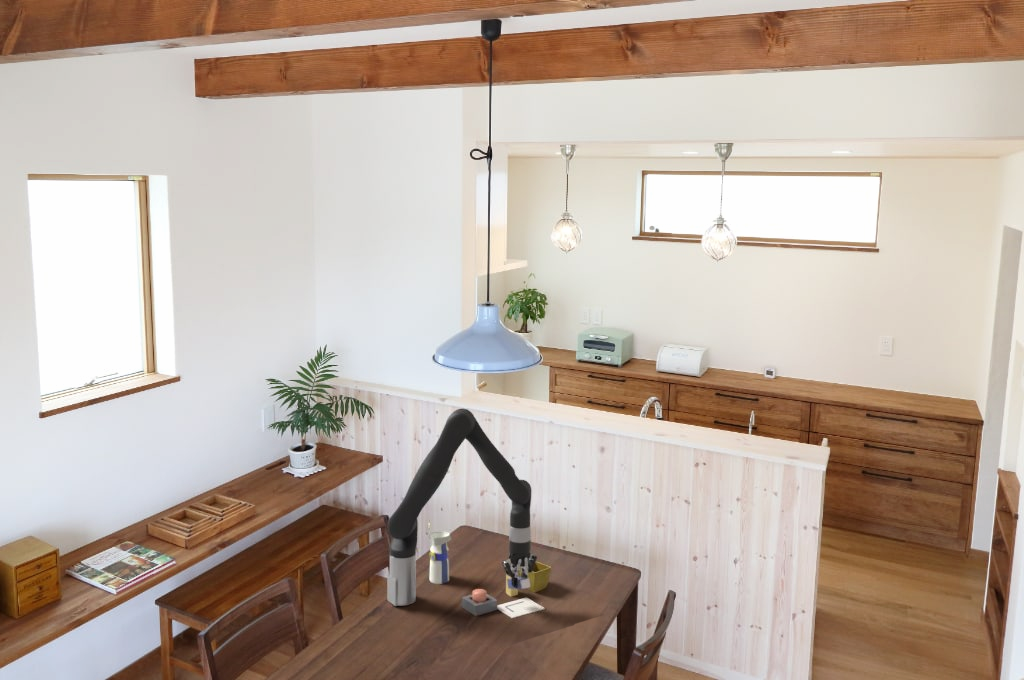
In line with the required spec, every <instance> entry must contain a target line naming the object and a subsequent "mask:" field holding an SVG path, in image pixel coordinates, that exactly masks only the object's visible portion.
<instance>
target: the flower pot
mask: <svg viewBox="0 0 1024 680" xmlns="http://www.w3.org/2000/svg"><path fill="white" fill-rule="evenodd" d="M530 566H531V565H530ZM551 571H552V566H549V565H547V564H544V563H542V562H539V561H536V562H535V565H534V568H533V571H532V572H529V573H528V575H527V579H529V581H530V587H528V588H525V589H526V590H528V591H530V592H533V593H537V592H539V591H542V590H544V589H546V588H547V586H548V584H549V581H550V578H551V577H550V576H551ZM518 572H519V577H520V578H521V574H522V571H521V567H520V569H519V571H518Z"/></svg>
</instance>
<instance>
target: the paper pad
mask: <svg viewBox="0 0 1024 680" xmlns="http://www.w3.org/2000/svg"><path fill="white" fill-rule="evenodd" d="M545 609H546V608H545V607H544V606H542V605H541V604H539V603H538V602H537V603H536V602H535V601H533V600H532V599H530V598H528V597H523V598H520V599H515V600H513V601H512V600H511V601H508V602H505V603H502V604H501V603H500V604H497V610H498V611H500V612H501V613H502V614H505V615H506V616H508V617H509V618H511V619H515V618H518V617H522V616H525V615H529V614H532V613H536V612H540V611H544V610H545Z"/></svg>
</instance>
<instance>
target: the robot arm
mask: <svg viewBox="0 0 1024 680" xmlns="http://www.w3.org/2000/svg"><path fill="white" fill-rule="evenodd" d="M465 440H467V442H468V443H469V444H470V445H471V446H472V447H473V449H474V450H475V451H476V453H477V454H478V456H479V459H480V460H481V462H482V463H483V465H484V466H485V468H486V469H487V471H488V472H489V473H490V474H491V475H492V476H493V477H494V479H495V480H497V482H498V483H499V485H500V486H501V488H502V490H503V491H504V493H505V494H506V496H507V498H509V499H510V501H511V509H510V514H509V531H508V532H509V533H508V534H509V535H508V539H509V540H508V550H509V556H508V559H506V560H502V561H501V562H502V566H503V568H504V572H505V575H506V574H507V575H508V576H510V577H511V582H512V583H511V584H512V586H513V587H514V588H517V582H518V578H517V576H518V577H519V572H520V571H519V569H520V567H521V571H522V574H521V578H527V575H528V573H529V572H532V571H533V568H534V565H535V562H537V558H538V556H537V555H535V554H533V553H531V549H532V548H531V547H532V546H531V545H532V544H531V543H532V542H531V541H532V538H531V537H532V534H531V533H532V531H531V504H532V503H531V502H532V487H531V484H530V483H529V481H527V480H526V479H520V478H519V477H518V476H517V474H516V471H515V469H514V467H513V466H512V464H511V463H510V462H509V461H508V460H507V459H506V458H505V457H504V455H503V454H502V453H501V452H500V451H499V450H498V449H497V447H496V445H494V444H493V442H492V441H491V440H490V439H489V437H488V436H487V433H485V431H484V430H483V429H482V427H481V425H480V424H479V422H478V420H477V418H476V417H475V416H474V413H472V411H471V410H469V409H467V408H458V409H456V410H454V411H453V412H452V413H450V415H449V416H448V418H447V419H446V422H445V423H444V426H443V428H442V431H441V433H440V434H439V437H438V439H437V442H436V443H435V444H434V446H433V447H432V449H431V450H430V451H429V452H428V454H427V455H426V456H425V458H424V460H422V463H421V464H420V466H419V468H418V469H417V471H416V472H415V473H416V474H415V475H414V477H413V479H412V481H411V483H410V485H409V487H408V489H407V491H406V494H405V495H404V498H403V500H402V501H401V502H400V504H399V505H398V507H397V509H396V510H395V511H394V512H393V513H392V515H391V516H390V517H389V518H388V522H387V526H386V527H387V532H388V533H389V535H390V537H391V540H390V541H391V542H390V545H389V574H387V575H386V576H387V578H386V579H387V581H386V582H387V583H386V584H387V587H386V588H387V589H386V590H387V592H386V594H387V601H388V603H390V604H391V605H393V606H395V607H397V606H400V607H403V606H409V605H411V604H414V603H415V602H416V600H417V598H416V596H417V595H416V594H417V593H416V592H417V591H416V588H417V587H416V586H417V584H416V583H417V581H416V580H417V579H416V577H417V576H416V574H417V570H416V569H417V565H416V564H417V562H416V561H417V558H416V557H417V554H416V553H417V551H416V550H417V546H418V530H419V528H418V527H419V525H418V524H419V523H418V518H419V515H420V513H421V512H422V510H423V509H424V507H425V506H426V504H427V503H428V502H429V501H430V500H431V499H432V497H433V496H434V494H435V493H436V491H437V490H438V489H439V487H440V485H441V484H442V482H443V480H444V479H445V477H446V475H447V474H448V471H449V469H450V466H451V464H452V461H453V458H454V456H455V454H456V452H457V450H458V449H459V448H460V446H461V445H462V443H464V441H465ZM530 565H531V566H530Z"/></svg>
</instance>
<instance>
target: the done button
mask: <svg viewBox="0 0 1024 680" xmlns="http://www.w3.org/2000/svg"><path fill="white" fill-rule="evenodd" d="M487 594H488V593H487V590H486V589H483V588H475V589H473V590H472V594H471V595H472V600H473V601H474V602H476V603H480V602H484V601H487Z"/></svg>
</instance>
